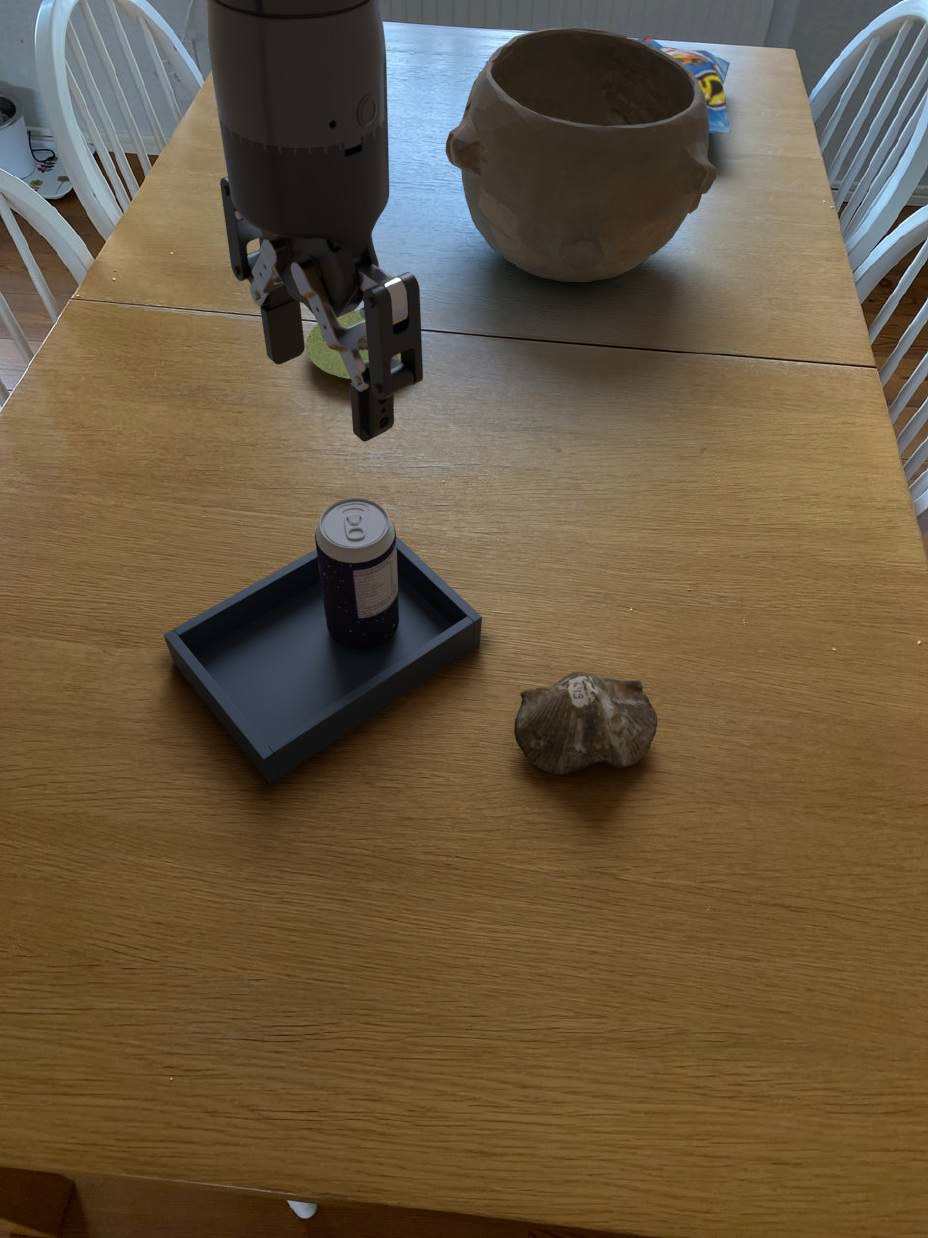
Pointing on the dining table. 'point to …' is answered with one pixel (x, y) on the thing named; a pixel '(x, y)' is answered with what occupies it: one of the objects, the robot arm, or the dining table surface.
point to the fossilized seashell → (585, 723)
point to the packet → (705, 81)
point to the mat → (332, 358)
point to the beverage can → (358, 572)
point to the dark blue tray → (314, 659)
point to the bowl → (581, 152)
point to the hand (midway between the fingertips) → (328, 393)
